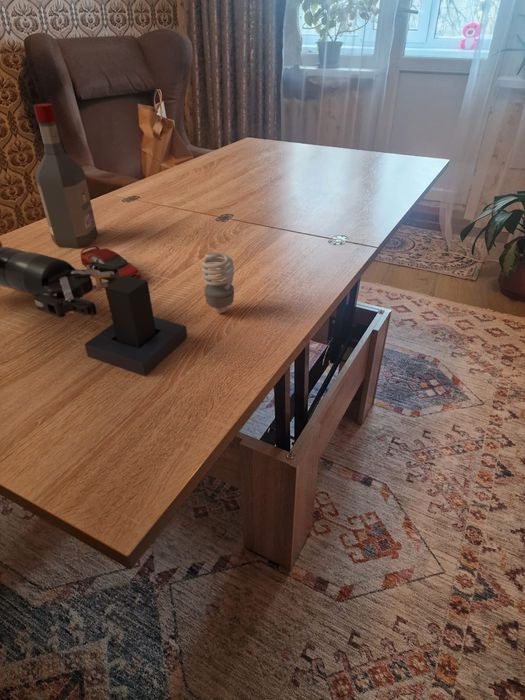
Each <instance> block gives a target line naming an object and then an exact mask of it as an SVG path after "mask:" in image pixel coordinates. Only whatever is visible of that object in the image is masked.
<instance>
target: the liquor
mask: <svg viewBox="0 0 525 700" xmlns="http://www.w3.org/2000/svg"><path fill="white" fill-rule="evenodd" d="M32 106H33V110H34V115H35V118H36V119H35V120H36V122H37V123H38V127H39V130H40V136H41V139H42V144H43V152H44V155H43V157H42V158H41V161H39V164H38V166H37V168H36V169H35V171H34V179H35V183H36V187H37V189H38V193H39V197H40V201H41V205H42V207H43V213H44V214H45V218H46V222H47V226H48V229H49V233H50V236H51V237H50V238H51V240H52V242H53V243H54V244H55V245H56V246H57V247H58V248H65V249H66V248H67V249H68V248H69V249H79V248H80V249H81V248H86V247H89V245H91V243H93V242H94V241H95V240H96V239H97V237H98V234H99V233H98V229H97V224H96V220H95V215H94V211H93V206H92V200H91V197H90V192H89V188H88V184H87V183H88V182H87V179H86V174H85V171H84V169H83V167H82V166H81V165H80V164H79V163H78V162H76V161H75V160H74V159H73V158H72V157H71V156H70V155H68V154H67V153H66V152H65V149H64V148H63V146H62V143H61V138H60V135H59V131H58V127H57V123H56V121H57V119H56V115H55V112H54V107H53V104H52V103H46V102H45V103H36V104H33V105H32Z"/></svg>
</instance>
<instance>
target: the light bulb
mask: <svg viewBox="0 0 525 700" xmlns="http://www.w3.org/2000/svg"><path fill="white" fill-rule="evenodd" d="M201 266H202V267H201V272H202V278H203V279H204V280H203V282H204V284H205V287H204V297H205V302H206V304H207V305H208V306H210V307H211V308H213V310H214V312H216V313H218V314H222V313H225V312H226V311H227V310H228V307H229V306H231V305H232V304H233V302H234V299H235V298H234V297H235V288H234V285H233V281H234V276H235V274H234V270H235V267H234V260H233V259H232V257H231V256H230V255H228V254H226V253H224V252H219V251H211V252H210V251H209V252H207V253H206V254H205V255H204V259H203V260H202V261H201Z"/></svg>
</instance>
